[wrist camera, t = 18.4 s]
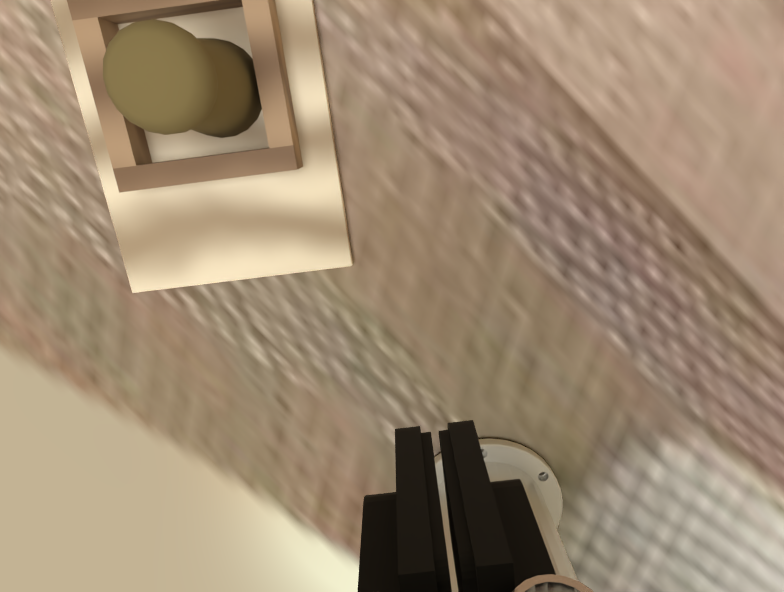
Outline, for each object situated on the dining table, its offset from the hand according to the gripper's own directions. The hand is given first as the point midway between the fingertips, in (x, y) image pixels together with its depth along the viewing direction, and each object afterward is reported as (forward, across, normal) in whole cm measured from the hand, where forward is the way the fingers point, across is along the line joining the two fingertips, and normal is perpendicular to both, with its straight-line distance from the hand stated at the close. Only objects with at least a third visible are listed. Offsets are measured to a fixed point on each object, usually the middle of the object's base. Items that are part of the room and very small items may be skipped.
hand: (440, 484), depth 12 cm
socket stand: (+29, +12, -8) cm, 32 cm away
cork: (+28, +11, -11) cm, 32 cm away
